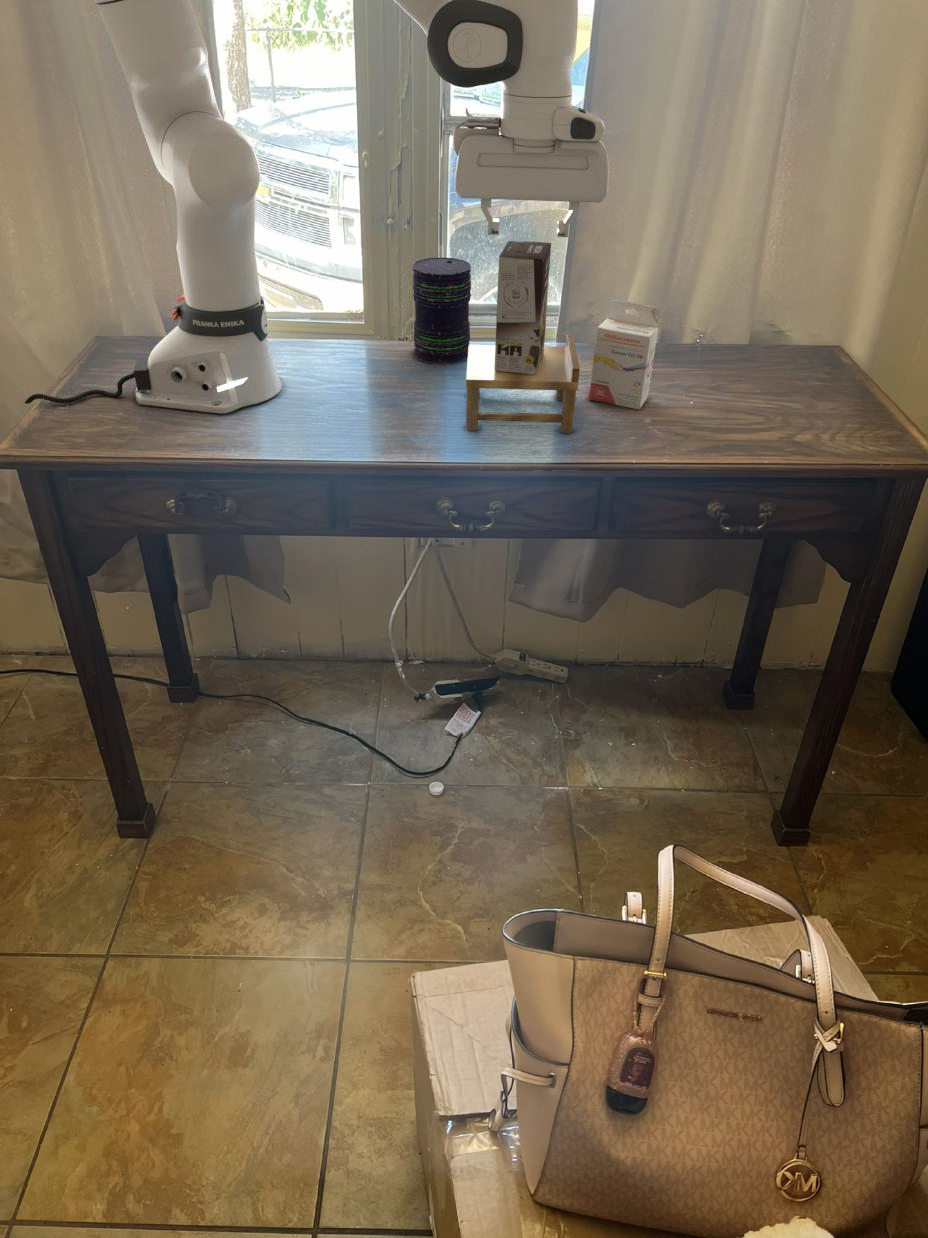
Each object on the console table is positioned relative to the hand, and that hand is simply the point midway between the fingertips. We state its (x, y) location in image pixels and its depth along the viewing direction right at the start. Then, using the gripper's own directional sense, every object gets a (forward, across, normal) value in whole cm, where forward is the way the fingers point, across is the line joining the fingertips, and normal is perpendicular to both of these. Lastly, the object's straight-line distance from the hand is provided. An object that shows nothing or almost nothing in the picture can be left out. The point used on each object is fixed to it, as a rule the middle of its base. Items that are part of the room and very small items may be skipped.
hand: (527, 234), depth 121 cm
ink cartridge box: (+26, +16, +6) cm, 31 cm away
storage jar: (+26, -13, +24) cm, 38 cm away
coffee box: (+18, 0, 0) cm, 18 cm away
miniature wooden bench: (+26, 0, 0) cm, 26 cm away
